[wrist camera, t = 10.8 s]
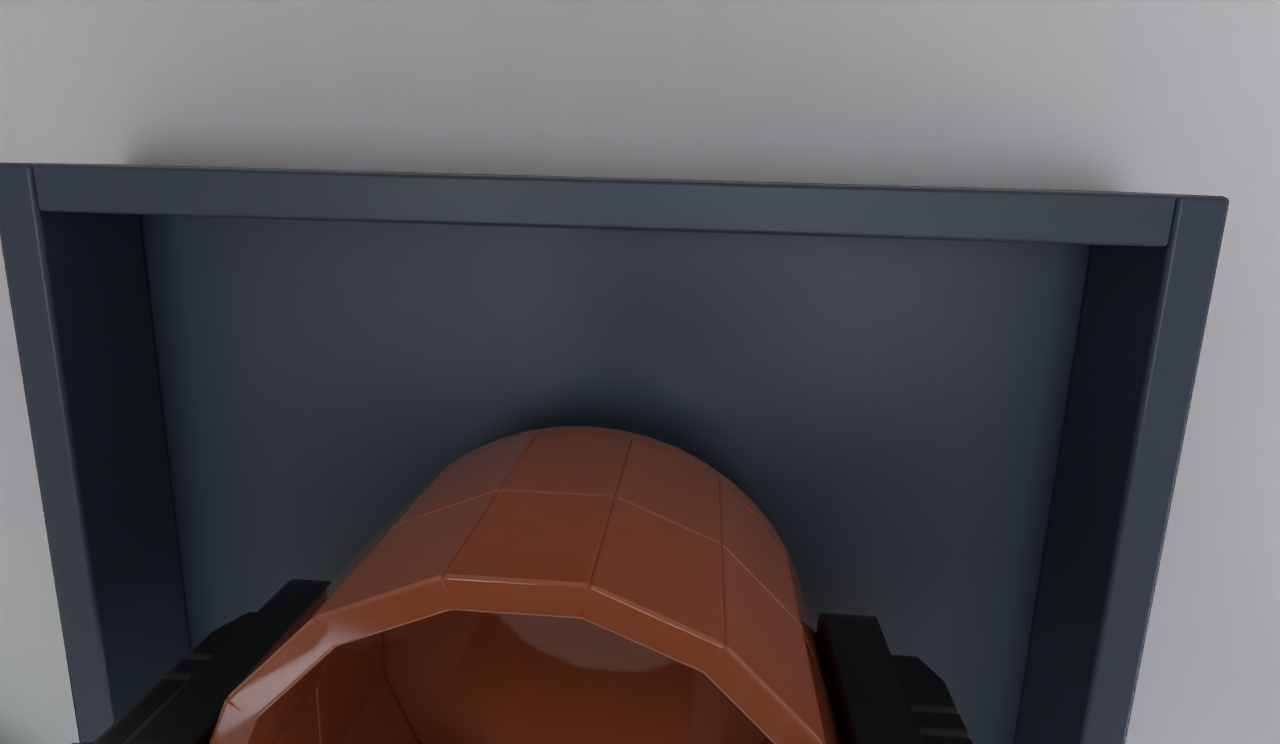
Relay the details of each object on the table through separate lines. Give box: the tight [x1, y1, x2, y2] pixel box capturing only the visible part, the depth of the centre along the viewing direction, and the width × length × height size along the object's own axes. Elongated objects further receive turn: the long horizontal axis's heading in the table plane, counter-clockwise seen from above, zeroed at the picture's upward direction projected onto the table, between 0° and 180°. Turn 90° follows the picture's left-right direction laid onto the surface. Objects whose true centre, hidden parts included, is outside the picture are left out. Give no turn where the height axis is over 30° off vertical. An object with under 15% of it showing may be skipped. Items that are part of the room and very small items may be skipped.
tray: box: [0, 163, 1229, 744], centre depth 13 cm, size 15×13×2 cm
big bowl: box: [209, 426, 842, 744], centre depth 10 cm, size 6×6×4 cm
